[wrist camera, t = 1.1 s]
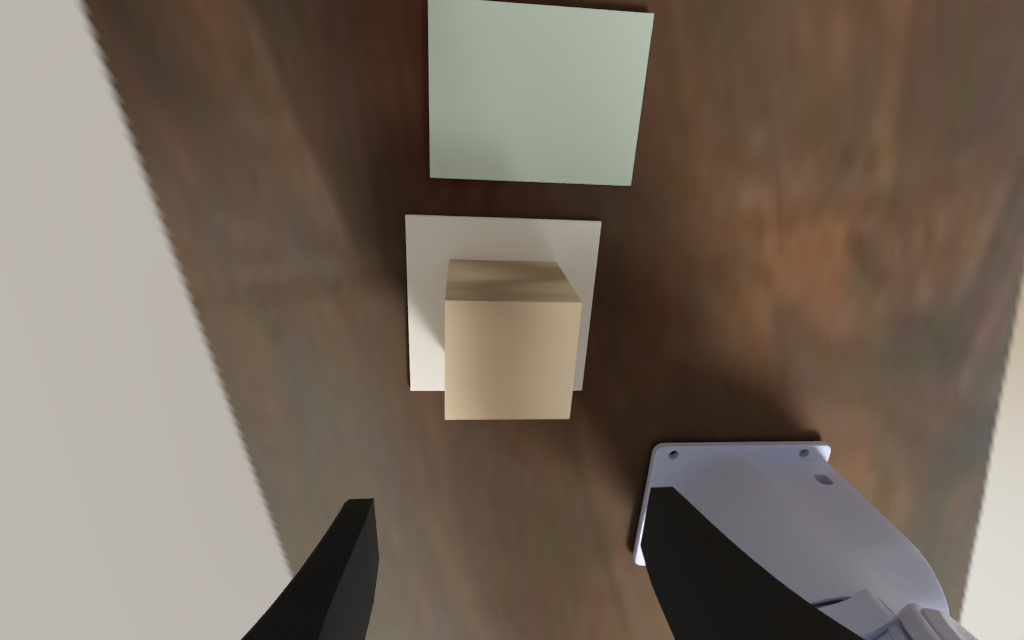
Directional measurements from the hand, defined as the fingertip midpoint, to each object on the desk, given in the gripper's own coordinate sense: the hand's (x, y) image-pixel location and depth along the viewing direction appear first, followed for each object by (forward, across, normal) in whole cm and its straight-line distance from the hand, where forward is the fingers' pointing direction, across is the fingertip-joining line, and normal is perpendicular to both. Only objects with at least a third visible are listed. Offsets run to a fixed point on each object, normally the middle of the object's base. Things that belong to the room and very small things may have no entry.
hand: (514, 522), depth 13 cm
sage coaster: (+10, -2, -10) cm, 15 cm away
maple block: (+10, 0, -2) cm, 10 cm away
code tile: (+10, 0, -2) cm, 11 cm away
